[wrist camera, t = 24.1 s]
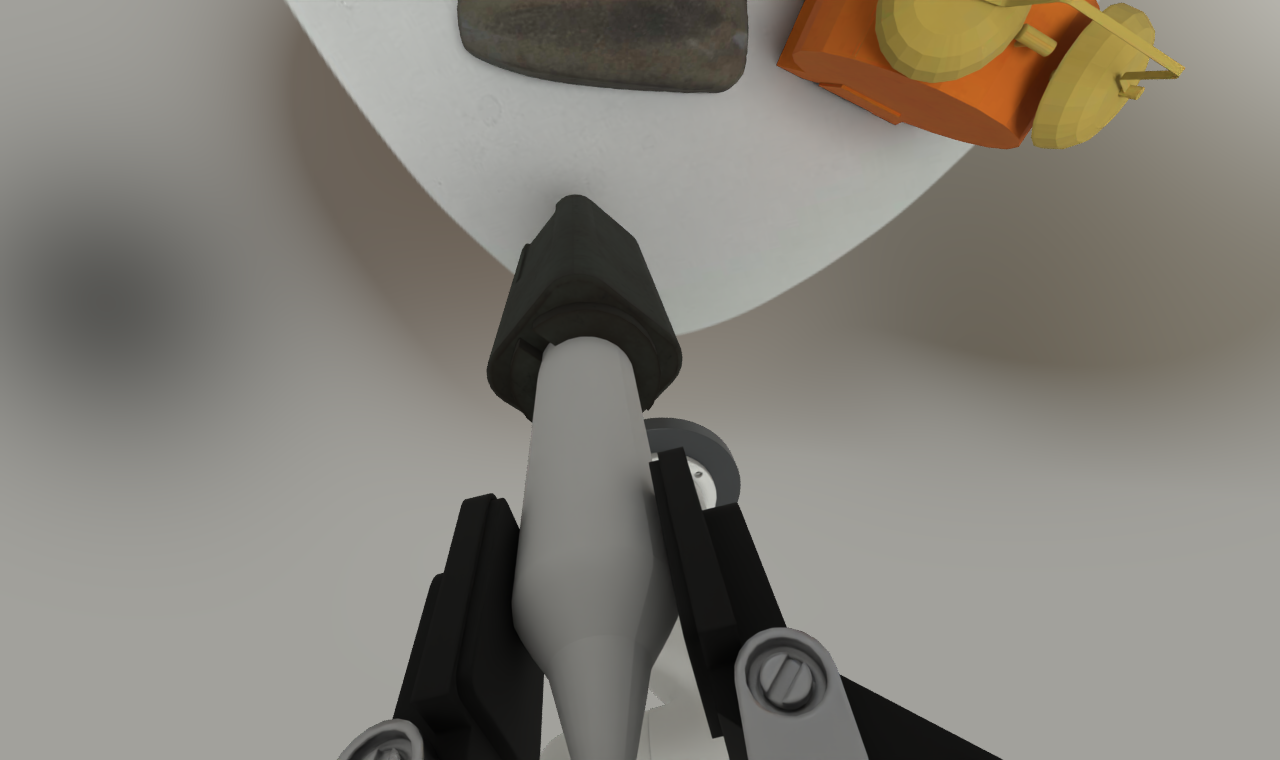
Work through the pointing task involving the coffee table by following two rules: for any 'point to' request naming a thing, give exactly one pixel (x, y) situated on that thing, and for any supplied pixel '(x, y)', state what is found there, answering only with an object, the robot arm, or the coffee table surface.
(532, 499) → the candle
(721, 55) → the decorative stone
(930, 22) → the alarm clock
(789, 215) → the coffee table surface
